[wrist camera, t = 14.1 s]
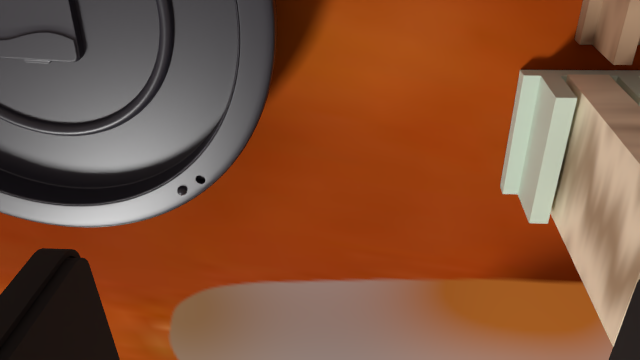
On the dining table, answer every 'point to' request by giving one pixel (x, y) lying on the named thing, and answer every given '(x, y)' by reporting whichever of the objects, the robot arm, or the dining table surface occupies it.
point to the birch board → (602, 195)
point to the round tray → (126, 103)
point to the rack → (610, 28)
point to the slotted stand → (545, 134)
